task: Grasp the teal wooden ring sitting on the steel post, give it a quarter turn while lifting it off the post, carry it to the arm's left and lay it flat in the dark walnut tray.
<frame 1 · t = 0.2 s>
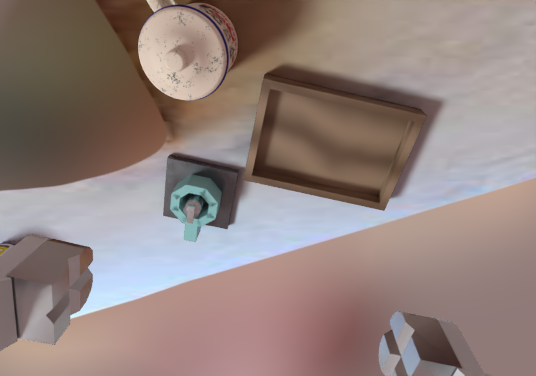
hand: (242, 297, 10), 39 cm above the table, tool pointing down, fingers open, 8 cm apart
teacup with lid: (196, 31, 43), on the table
teal ring: (198, 195, 53), point 1 cm above the table, touching post stand
supplement bottle: (13, 253, 64), on the table
post stand: (200, 191, 54), on the table
walnut tray: (327, 142, 49), on the table
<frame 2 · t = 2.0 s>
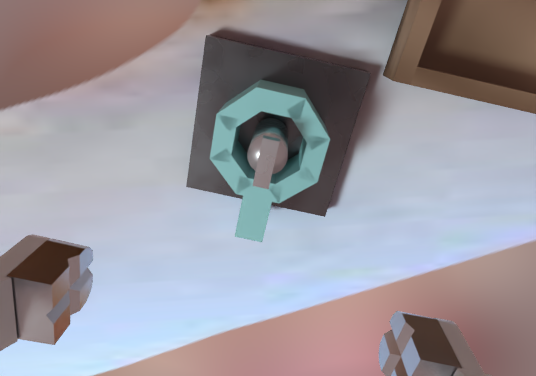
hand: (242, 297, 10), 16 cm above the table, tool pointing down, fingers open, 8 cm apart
teal ring: (271, 134, 24), point 1 cm above the table, touching post stand
post stand: (271, 130, 24), on the table
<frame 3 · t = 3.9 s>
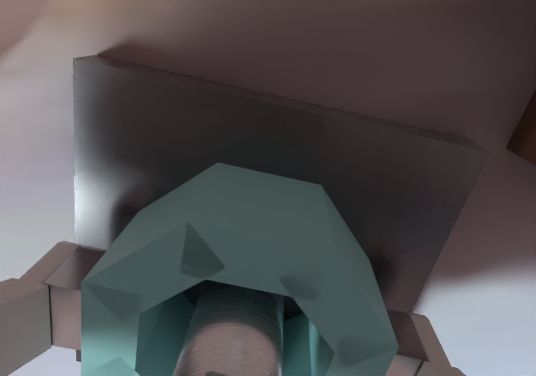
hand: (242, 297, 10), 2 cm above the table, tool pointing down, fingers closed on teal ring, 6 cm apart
teal ring: (246, 275, 11), point 1 cm above the table, touching gripper, post stand
post stand: (249, 255, 11), on the table
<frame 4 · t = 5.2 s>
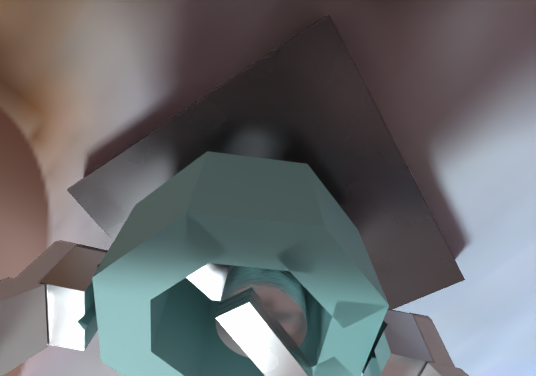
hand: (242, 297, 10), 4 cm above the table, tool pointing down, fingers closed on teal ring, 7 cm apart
teal ring: (244, 253, 11), point 2 cm above the table, tilted 6°, touching gripper
post stand: (271, 221, 13), on the table
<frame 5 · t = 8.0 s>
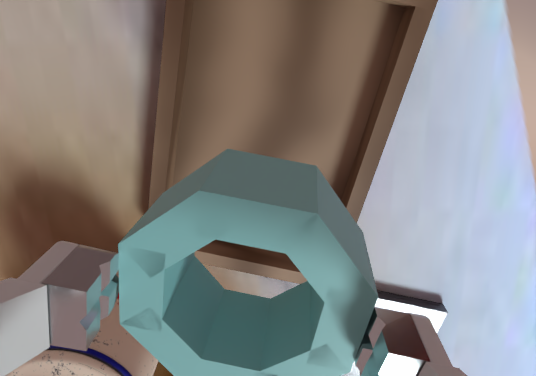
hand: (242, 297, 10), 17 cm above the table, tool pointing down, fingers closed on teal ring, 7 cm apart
teacup with lid: (115, 309, 32), on the table
teal ring: (255, 247, 12), point 14 cm above the table, touching gripper
post stand: (365, 336, 32), on the table
walnut tray: (269, 132, 25), on the table
when the fingers open (4 cm above the table, at t = 10.8 s): teal ring stays where it is, resting on walnut tray.
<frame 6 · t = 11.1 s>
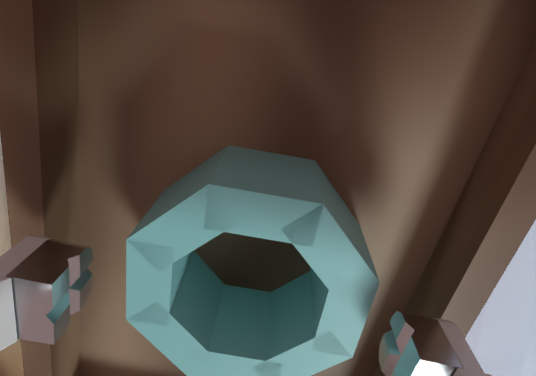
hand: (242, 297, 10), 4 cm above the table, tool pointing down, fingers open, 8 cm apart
teal ring: (256, 241, 12), point 1 cm above the table, touching walnut tray
walnut tray: (255, 229, 13), on the table
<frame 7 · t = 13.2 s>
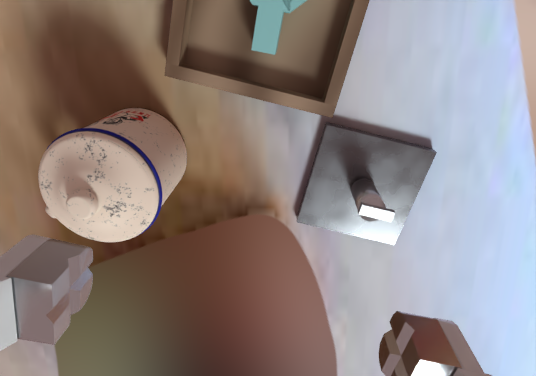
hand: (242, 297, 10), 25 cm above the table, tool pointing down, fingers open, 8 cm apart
teacup with lid: (132, 158, 35), on the table
post stand: (361, 184, 35), on the table
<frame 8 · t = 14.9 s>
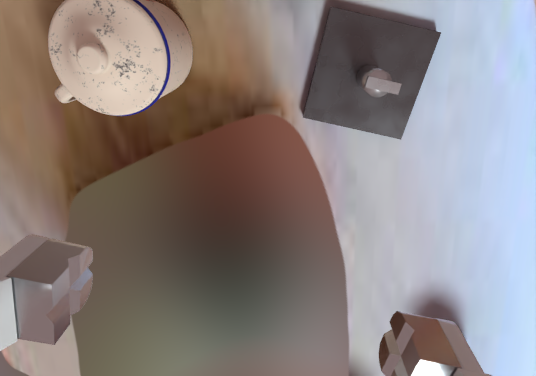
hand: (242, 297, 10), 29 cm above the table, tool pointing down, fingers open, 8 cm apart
teacup with lid: (138, 57, 36), on the table
post stand: (366, 76, 35), on the table
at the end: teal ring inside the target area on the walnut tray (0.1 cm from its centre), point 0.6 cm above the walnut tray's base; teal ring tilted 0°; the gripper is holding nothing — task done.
